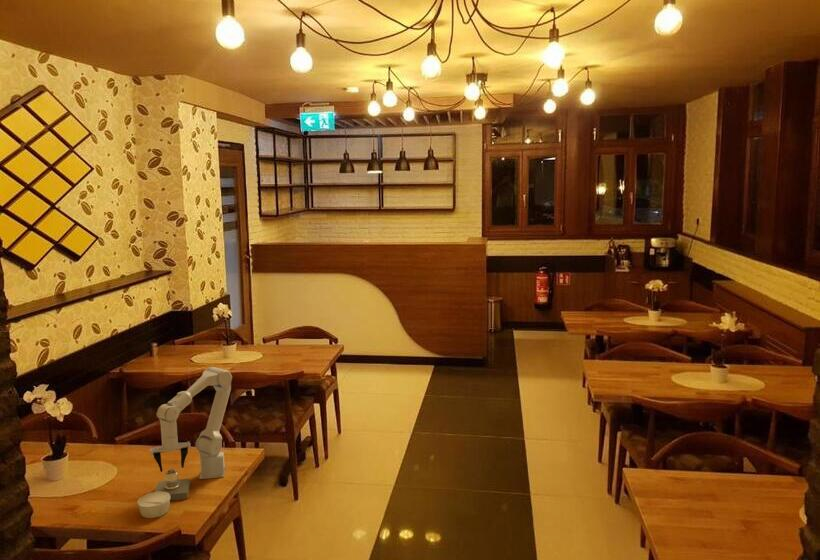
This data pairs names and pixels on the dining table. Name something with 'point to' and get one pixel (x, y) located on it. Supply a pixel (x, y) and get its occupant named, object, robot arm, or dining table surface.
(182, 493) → the stand
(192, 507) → the dining table surface
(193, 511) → the dining table surface
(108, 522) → the dining table surface
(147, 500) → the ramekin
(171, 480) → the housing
